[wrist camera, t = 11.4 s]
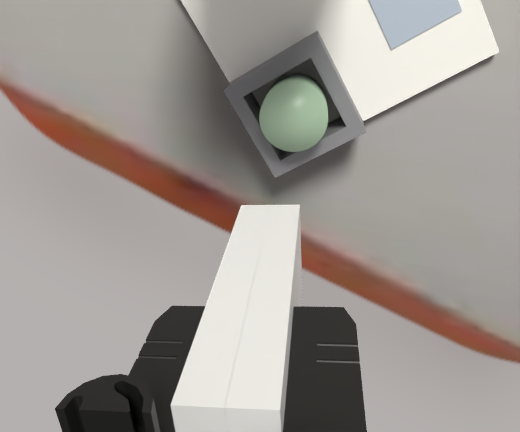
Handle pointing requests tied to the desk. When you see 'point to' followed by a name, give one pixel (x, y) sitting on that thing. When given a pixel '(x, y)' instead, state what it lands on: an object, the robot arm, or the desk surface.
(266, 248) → the robot arm
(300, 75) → the button
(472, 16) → the white button panel
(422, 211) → the desk surface
